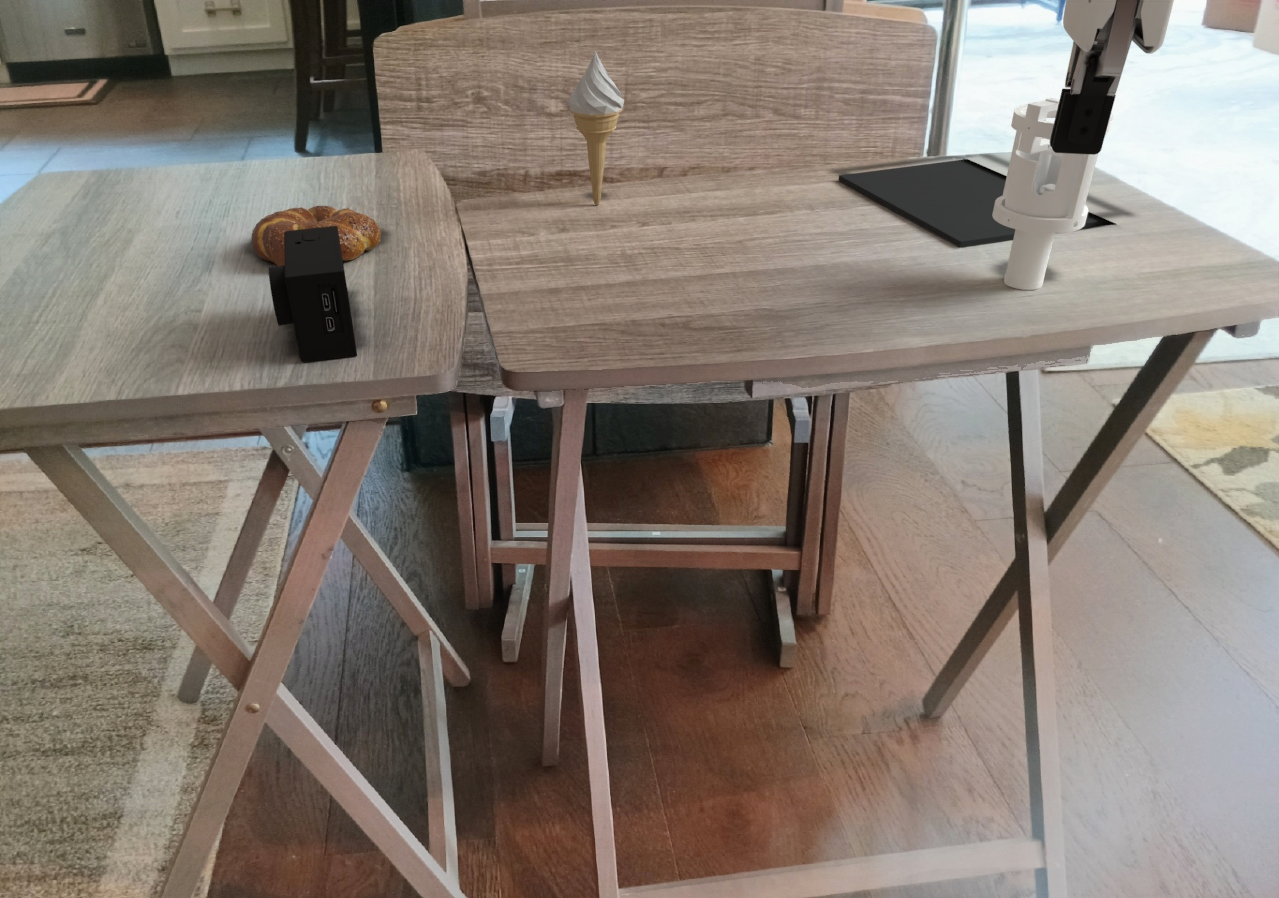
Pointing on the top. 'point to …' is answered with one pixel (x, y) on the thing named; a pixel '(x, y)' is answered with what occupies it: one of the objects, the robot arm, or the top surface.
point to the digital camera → (314, 294)
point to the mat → (945, 199)
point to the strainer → (1040, 193)
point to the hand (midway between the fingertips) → (1073, 149)
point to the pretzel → (352, 227)
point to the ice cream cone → (596, 116)
